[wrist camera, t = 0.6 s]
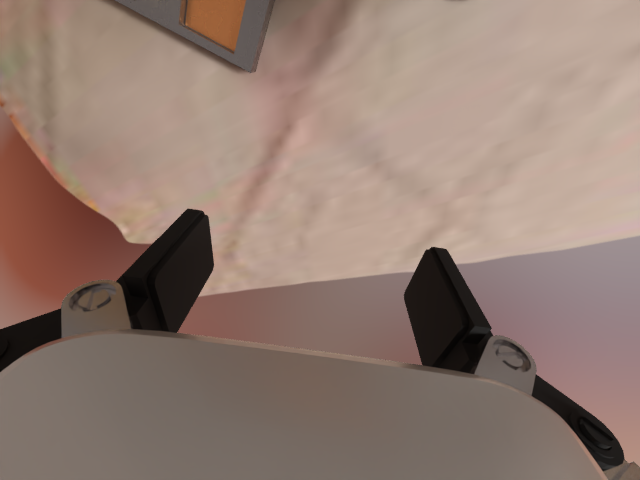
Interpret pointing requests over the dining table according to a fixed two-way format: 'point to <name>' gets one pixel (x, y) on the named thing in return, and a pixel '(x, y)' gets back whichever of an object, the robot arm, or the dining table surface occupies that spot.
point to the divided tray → (214, 24)
